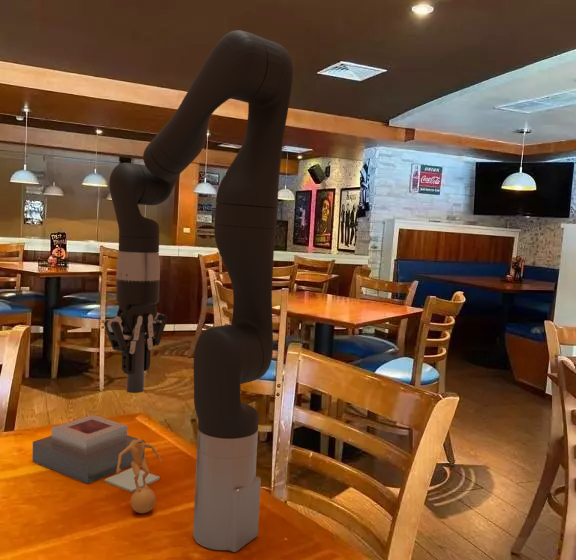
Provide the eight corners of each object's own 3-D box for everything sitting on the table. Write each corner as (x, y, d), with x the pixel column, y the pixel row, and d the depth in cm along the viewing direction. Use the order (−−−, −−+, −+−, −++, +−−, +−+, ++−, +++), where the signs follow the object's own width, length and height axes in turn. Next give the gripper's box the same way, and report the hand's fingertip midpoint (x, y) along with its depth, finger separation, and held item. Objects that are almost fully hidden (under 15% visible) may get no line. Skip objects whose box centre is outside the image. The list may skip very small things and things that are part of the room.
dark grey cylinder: (147, 390, 108) (148, 331, 107) (134, 393, 106) (136, 333, 105) (135, 387, 110) (136, 329, 109) (123, 390, 107) (124, 331, 106)
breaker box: (144, 460, 119) (145, 426, 118) (87, 484, 107) (88, 446, 106) (90, 441, 127) (91, 409, 126) (32, 461, 115) (33, 426, 114)
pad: (159, 479, 110) (159, 477, 110) (131, 492, 105) (131, 490, 104) (132, 469, 114) (133, 467, 114) (104, 481, 108) (104, 479, 108)
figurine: (125, 524, 94) (128, 451, 93) (108, 509, 98) (110, 439, 97) (170, 509, 99) (173, 440, 98) (152, 495, 104) (154, 429, 103)
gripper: (123, 280, 98) (121, 382, 99) (180, 277, 110) (178, 368, 111) (92, 277, 102) (91, 375, 103) (151, 273, 114) (148, 362, 115)
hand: (136, 371), depth 107 cm, fingers closed on dark grey cylinder, 3 cm apart
